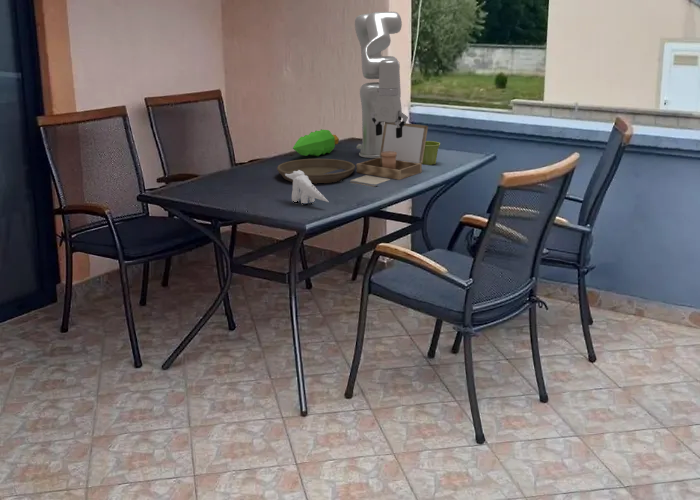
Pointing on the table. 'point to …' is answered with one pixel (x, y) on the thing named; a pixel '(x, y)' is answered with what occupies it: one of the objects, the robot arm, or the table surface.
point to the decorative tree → (316, 143)
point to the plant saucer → (317, 169)
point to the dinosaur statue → (304, 188)
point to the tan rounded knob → (389, 159)
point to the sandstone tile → (369, 180)
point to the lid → (405, 141)
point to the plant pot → (430, 152)
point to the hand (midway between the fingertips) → (388, 136)
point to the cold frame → (400, 172)
